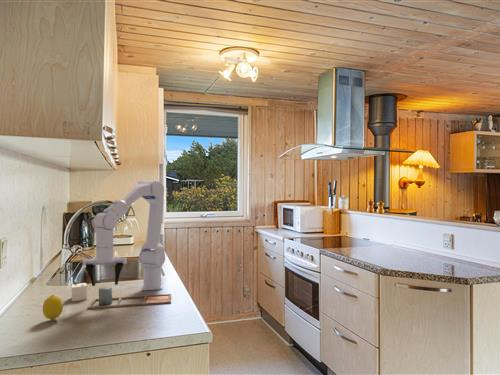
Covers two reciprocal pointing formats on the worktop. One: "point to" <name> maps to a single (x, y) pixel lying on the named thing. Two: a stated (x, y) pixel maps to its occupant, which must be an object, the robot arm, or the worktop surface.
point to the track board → (150, 301)
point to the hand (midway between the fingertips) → (105, 284)
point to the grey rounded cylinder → (105, 296)
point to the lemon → (52, 307)
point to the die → (79, 291)
